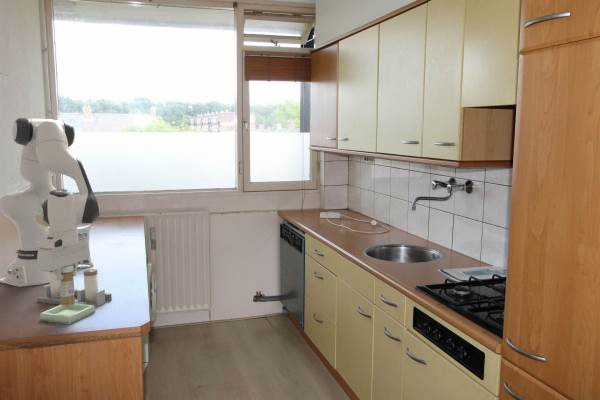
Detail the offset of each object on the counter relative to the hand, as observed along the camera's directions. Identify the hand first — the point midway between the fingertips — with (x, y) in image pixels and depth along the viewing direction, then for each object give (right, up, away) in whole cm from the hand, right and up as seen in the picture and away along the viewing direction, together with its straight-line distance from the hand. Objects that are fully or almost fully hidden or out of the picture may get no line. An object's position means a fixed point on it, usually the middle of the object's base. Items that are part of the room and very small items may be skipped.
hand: (66, 278), depth 179 cm
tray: (0, -13, +2) cm, 14 cm away
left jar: (-13, -11, +21) cm, 26 cm away
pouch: (-27, -5, +65) cm, 71 cm away
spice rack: (-5, -11, +18) cm, 22 cm away
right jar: (+3, -12, +15) cm, 19 cm away
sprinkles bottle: (0, -9, +1) cm, 9 cm away
